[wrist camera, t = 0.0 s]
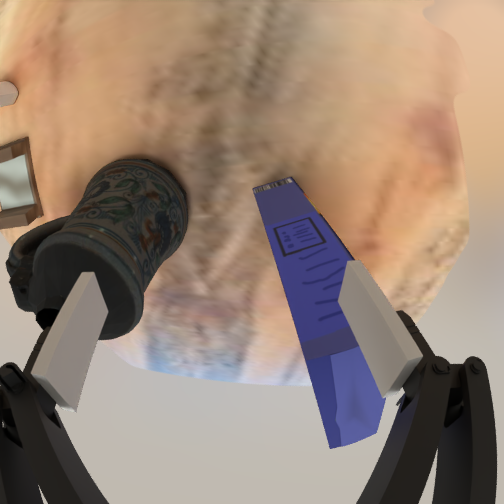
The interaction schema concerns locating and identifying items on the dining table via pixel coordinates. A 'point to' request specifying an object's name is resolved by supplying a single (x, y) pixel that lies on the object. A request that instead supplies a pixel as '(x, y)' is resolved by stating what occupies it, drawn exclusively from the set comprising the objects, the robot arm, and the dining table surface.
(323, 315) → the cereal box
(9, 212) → the u rest
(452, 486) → the robot arm
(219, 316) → the dining table surface
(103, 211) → the beer stein
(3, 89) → the eye dropper bottle
